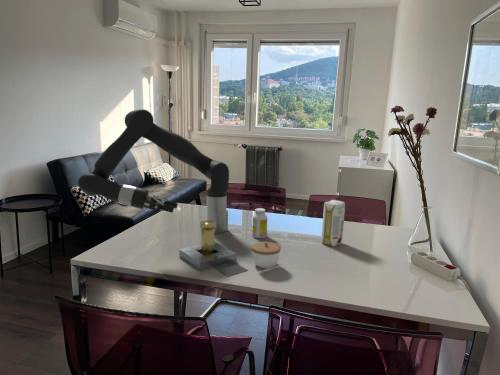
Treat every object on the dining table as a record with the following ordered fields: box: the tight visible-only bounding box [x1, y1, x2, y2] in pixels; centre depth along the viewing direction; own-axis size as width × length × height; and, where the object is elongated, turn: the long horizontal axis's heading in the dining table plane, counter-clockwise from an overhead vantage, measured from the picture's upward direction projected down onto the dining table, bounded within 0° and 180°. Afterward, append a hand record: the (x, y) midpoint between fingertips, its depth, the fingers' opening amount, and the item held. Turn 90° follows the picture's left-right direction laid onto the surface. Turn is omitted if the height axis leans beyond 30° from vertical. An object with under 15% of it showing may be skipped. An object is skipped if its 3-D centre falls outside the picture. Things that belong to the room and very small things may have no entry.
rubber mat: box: [213, 261, 249, 278], centre depth 138 cm, size 9×9×1 cm
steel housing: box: [178, 240, 237, 272], centre depth 146 cm, size 16×16×4 cm
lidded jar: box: [251, 241, 281, 270], centre depth 141 cm, size 11×11×9 cm
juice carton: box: [321, 199, 346, 247], centre depth 166 cm, size 8×9×19 cm
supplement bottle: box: [252, 207, 268, 239], centre depth 173 cm, size 7×7×13 cm
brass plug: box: [199, 219, 216, 256], centre depth 145 cm, size 6×6×14 cm
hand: (175, 207), depth 143 cm, fingers open, 8 cm apart
